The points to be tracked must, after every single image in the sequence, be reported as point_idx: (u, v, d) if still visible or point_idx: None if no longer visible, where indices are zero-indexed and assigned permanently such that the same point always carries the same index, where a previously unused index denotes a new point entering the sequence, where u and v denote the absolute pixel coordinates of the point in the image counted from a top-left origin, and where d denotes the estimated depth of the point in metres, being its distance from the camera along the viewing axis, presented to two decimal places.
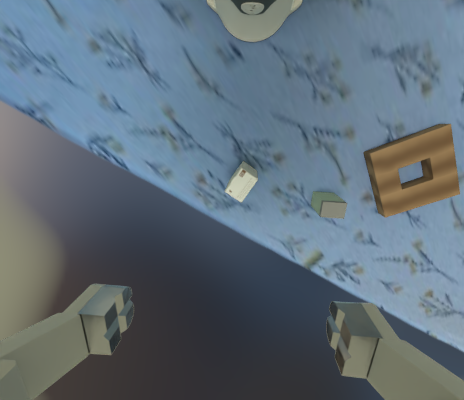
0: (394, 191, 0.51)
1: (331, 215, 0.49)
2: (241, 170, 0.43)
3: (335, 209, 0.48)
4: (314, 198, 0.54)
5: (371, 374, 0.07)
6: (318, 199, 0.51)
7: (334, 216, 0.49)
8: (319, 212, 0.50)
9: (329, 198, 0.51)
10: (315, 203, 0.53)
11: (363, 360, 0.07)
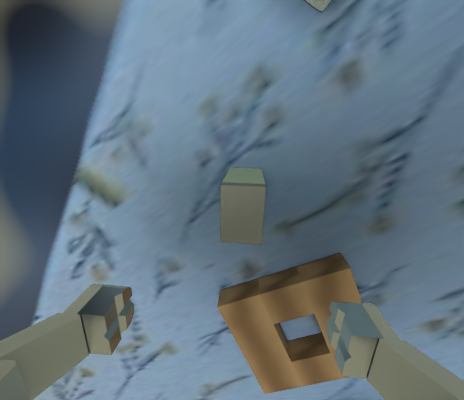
0: (270, 314, 0.27)
1: (226, 212, 0.18)
2: None
3: (244, 220, 0.18)
4: (251, 172, 0.23)
5: (371, 374, 0.07)
6: (258, 178, 0.20)
7: (224, 220, 0.19)
8: (230, 182, 0.19)
9: None
10: (240, 173, 0.22)
11: (363, 360, 0.07)
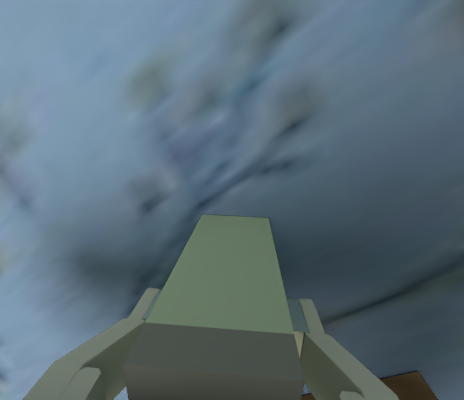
0: None
1: None
2: None
3: None
4: (247, 236, 0.10)
5: (302, 368, 0.08)
6: (265, 275, 0.07)
7: None
8: (172, 323, 0.05)
9: None
10: (219, 243, 0.09)
11: None
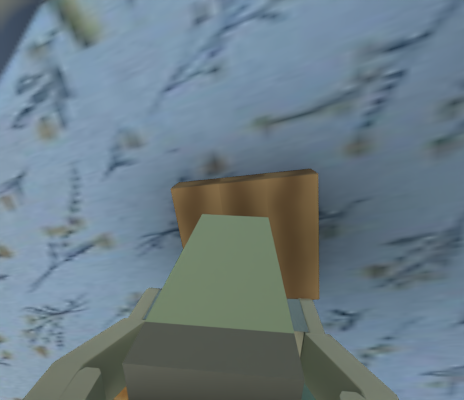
0: (223, 210, 0.26)
1: None
2: None
3: None
4: (247, 236, 0.10)
5: (302, 368, 0.08)
6: (265, 274, 0.07)
7: None
8: (171, 322, 0.05)
9: None
10: (220, 243, 0.09)
11: None
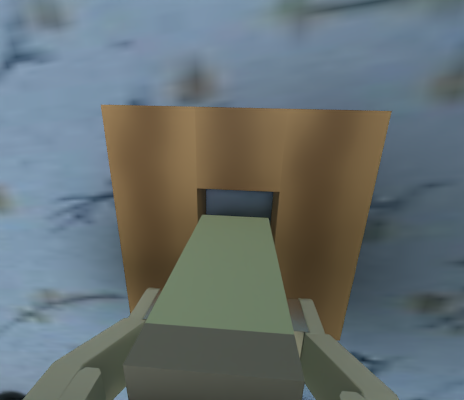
0: (198, 162, 0.14)
1: None
2: None
3: None
4: (247, 236, 0.10)
5: (302, 368, 0.08)
6: (265, 275, 0.07)
7: None
8: (172, 323, 0.05)
9: None
10: (220, 243, 0.09)
11: None
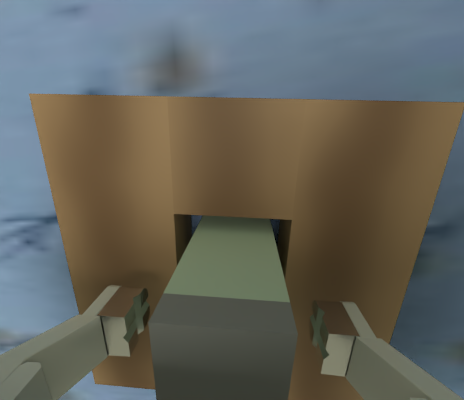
0: (175, 178, 0.09)
1: (174, 391, 0.06)
2: None
3: None
4: (248, 226, 0.11)
5: (349, 373, 0.07)
6: (265, 258, 0.08)
7: None
8: (186, 293, 0.06)
9: None
10: (224, 232, 0.10)
11: (341, 358, 0.07)
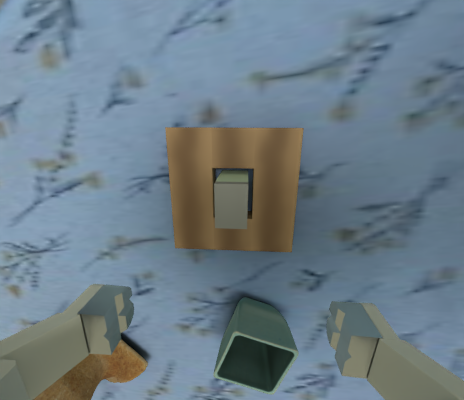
0: (213, 154, 0.27)
1: (219, 204, 0.24)
2: None
3: (232, 210, 0.24)
4: (239, 173, 0.29)
5: (371, 374, 0.07)
6: (243, 177, 0.26)
7: (217, 210, 0.24)
8: (221, 181, 0.24)
9: None
10: (230, 174, 0.28)
11: (363, 360, 0.07)
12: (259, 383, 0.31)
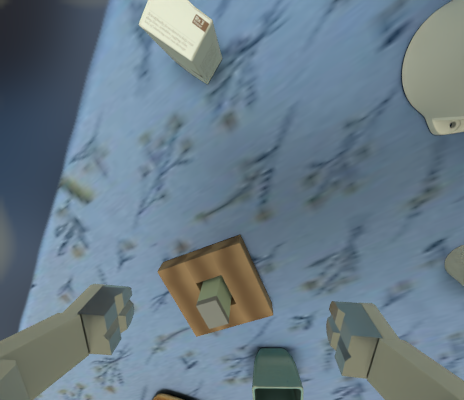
0: (192, 276, 0.40)
1: (204, 315, 0.36)
2: (206, 20, 0.21)
3: (214, 316, 0.36)
4: (214, 278, 0.41)
5: (371, 375, 0.07)
6: (215, 287, 0.38)
7: (205, 319, 0.37)
8: (200, 300, 0.37)
9: (223, 298, 0.39)
10: (208, 283, 0.40)
11: (363, 360, 0.07)
12: None
